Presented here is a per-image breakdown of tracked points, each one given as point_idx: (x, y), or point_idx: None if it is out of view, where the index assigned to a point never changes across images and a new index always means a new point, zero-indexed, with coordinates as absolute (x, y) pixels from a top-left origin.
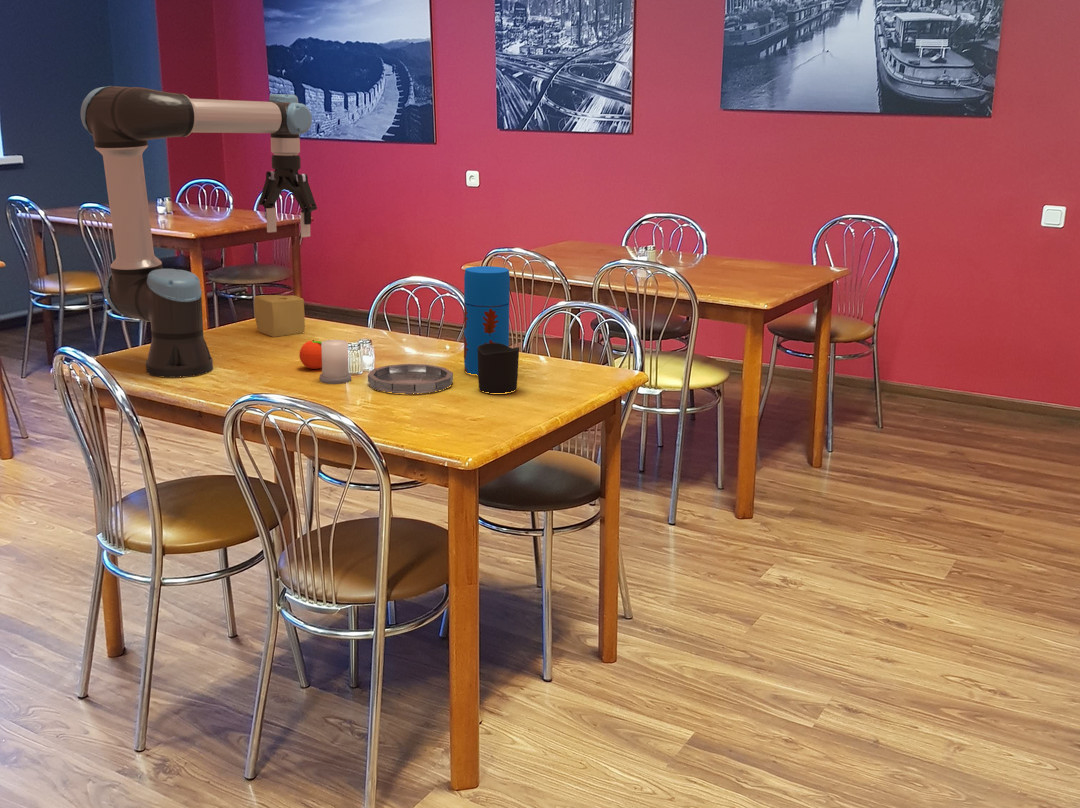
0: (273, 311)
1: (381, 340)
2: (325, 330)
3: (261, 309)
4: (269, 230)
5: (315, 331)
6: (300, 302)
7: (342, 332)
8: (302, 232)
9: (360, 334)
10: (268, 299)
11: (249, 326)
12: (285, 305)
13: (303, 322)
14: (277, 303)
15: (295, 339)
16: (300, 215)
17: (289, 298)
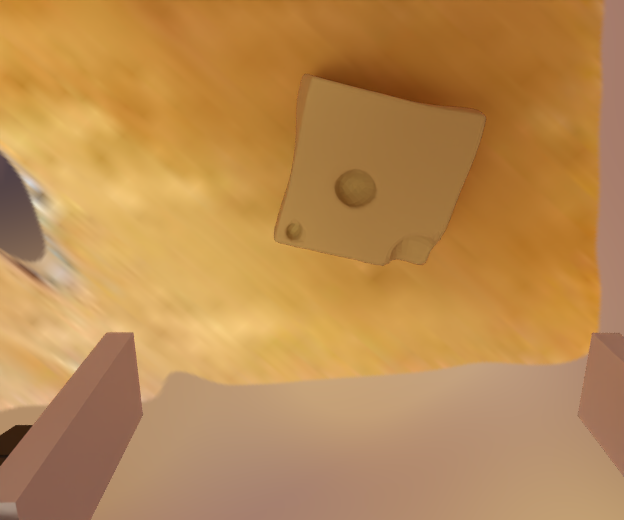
0: (303, 77)
1: (12, 299)
2: (267, 285)
3: (413, 101)
4: (599, 349)
5: (280, 251)
6: (277, 221)
7: (200, 300)
8: (92, 353)
9: (133, 317)
10: (381, 117)
11: (531, 148)
12: (295, 147)
13: (279, 210)
14: (303, 106)
15: (225, 110)
16: (34, 471)
17: (326, 203)
